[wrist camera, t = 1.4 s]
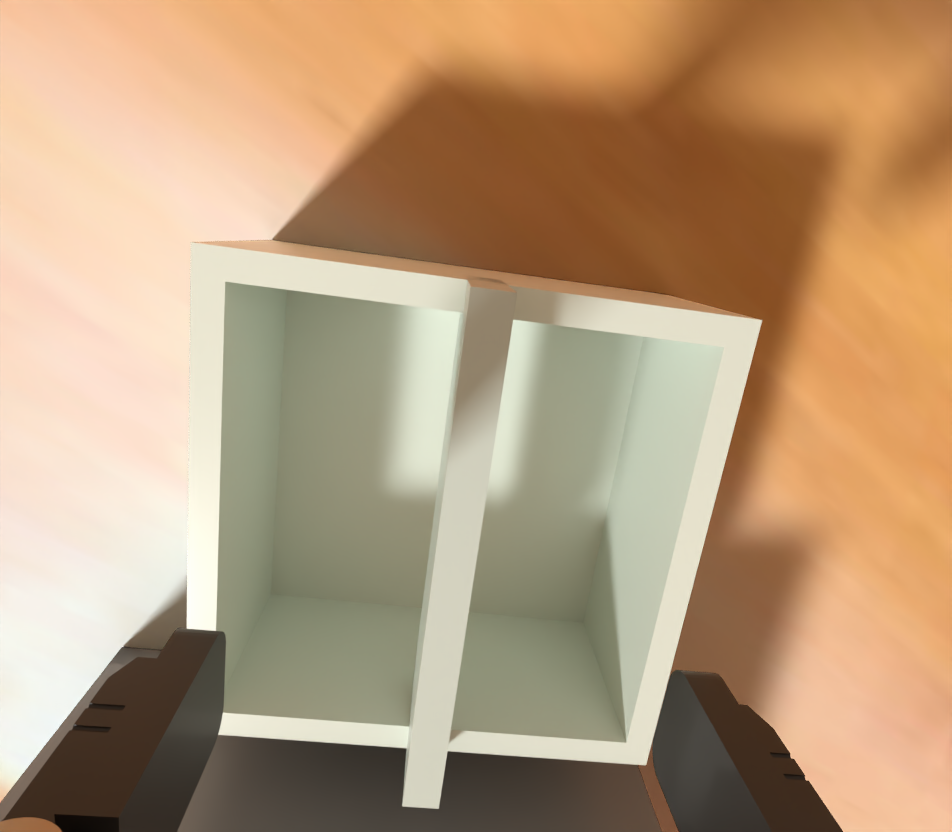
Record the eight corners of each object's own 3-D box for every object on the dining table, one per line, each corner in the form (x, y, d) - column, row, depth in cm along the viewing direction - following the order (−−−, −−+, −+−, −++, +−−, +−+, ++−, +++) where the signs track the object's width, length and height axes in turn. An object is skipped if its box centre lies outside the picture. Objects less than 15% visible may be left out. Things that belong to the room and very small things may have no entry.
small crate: (666, 294, 22) (806, 332, 14) (594, 629, 26) (668, 823, 18) (271, 240, 21) (152, 243, 13) (255, 598, 25) (155, 790, 16)
